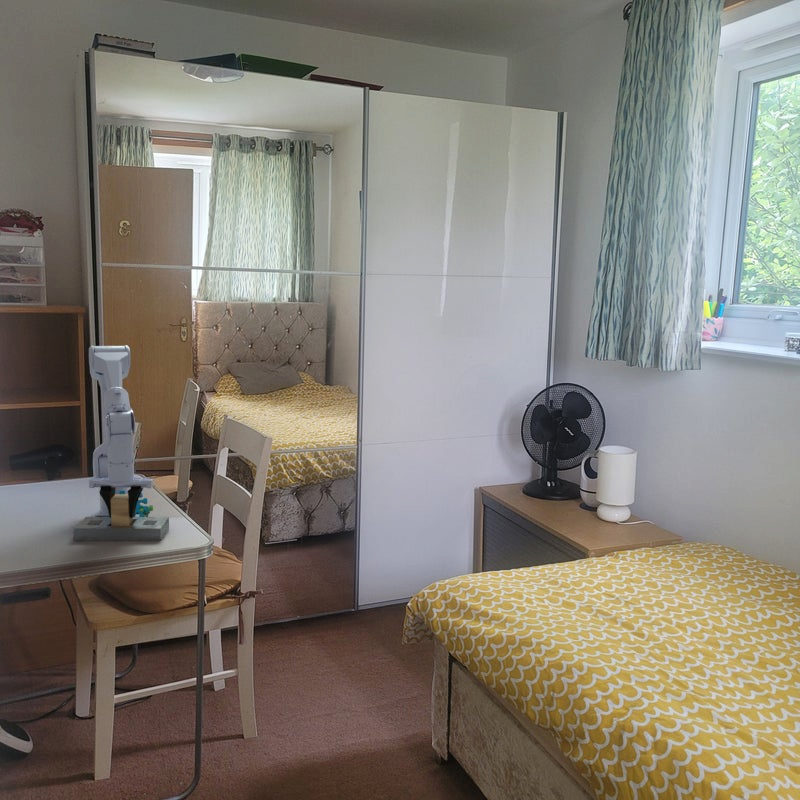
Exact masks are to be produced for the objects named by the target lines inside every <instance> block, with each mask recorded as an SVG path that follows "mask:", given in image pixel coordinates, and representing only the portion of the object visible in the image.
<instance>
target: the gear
mask: <svg viewBox="0 0 800 800" xmlns="http://www.w3.org/2000/svg"><path fill="white" fill-rule="evenodd" d="M119 493H120V494H125V491H120V492H119ZM143 495H144V494H143V493H142V492H141V494H140V496H139V499H138V502H137V505H136V510H135V516H134V517H137V516H136V515H139V516H138V517H149V515H150V514H151V512H153V511H154V506H153V505H150V504H149V506H148V498H147V497H145V498H143ZM142 498H143V499H142ZM141 503H142V504H144V505H142V504H141ZM108 515H109V512H108ZM108 517H110V515H109V516H108Z"/></svg>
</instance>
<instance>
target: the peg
mask: <svg viewBox="0 0 800 800" xmlns="http://www.w3.org/2000/svg"><path fill="white" fill-rule="evenodd" d="M132 525H133V518H130V516H129V497H128V494H115V495H114V496H113V497H112V498H111V526H132Z"/></svg>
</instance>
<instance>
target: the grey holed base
mask: <svg viewBox="0 0 800 800" xmlns="http://www.w3.org/2000/svg"><path fill="white" fill-rule="evenodd" d="M169 530H170V517H169V516H148V517H139V516H135V517H133V525H132V526H111V518H110V516H85V517H84V518H83V519H82V520H81V521H80V522H79V523H78V524H76V525H75V526H74V527H73V541H74V542H75V541H78V542H79V541H81V542H82V541H83V542H84V541H85V542H86V541H87V542H89V541H91V542H92V541H93V542H95V541H96V542H97V541H98V542H101V541H102V542H103V541H104V542H105V541H107V542H108V541H110V542H112V541H113V542H118V541H120V542H122V541H124V542H125V541H126V542H131V541H132V542H137V541H138V542H139V541H141V542H145V541H149V542H151V541H152V542H156V541H157V542H160V541H162V539H163V538H164V537H165V535H166V534H167V532H168V531H169Z"/></svg>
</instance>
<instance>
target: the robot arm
mask: <svg viewBox="0 0 800 800" xmlns="http://www.w3.org/2000/svg"><path fill="white" fill-rule="evenodd" d="M131 359H132V357H131V349H130V347H129V345H127V344H125V345H90V347H88V365H89V374H90V376H91V377H90V378H91V379H93V380H96V381H98V385H99V387H100V394H101V396H100V397H101V415H102V416H101V417H102V432H103V433H102V434H103V435H102V437H103V438H102V439H103V442H102V443H101V444H100V445H98V446H97V447H96V448H95V449H94V451H93V453H92V470H93V471H92V472H93V473H92V474H93V477H92V478H90V479H89V480H88V487H89V489H93V488H94V489H95V488H99V491H98V493H99V509H98V511H97V512H96V513H95V514H94V517H110V518H111V498H112V497H113V496H114V495H115V494H120V493H119V492H120V491H125V494H128V497H129V516H130V518H133V517H134V516H135V510H136V505H137V502H138V500H140V498H139V496H140V494H141V493H142V492H143V490H144V488H146V489H152V488H153V487H154V478H145V477H138V476H135V461H134V435H135V432H136V419H135V414H134V410H133V408H132V407H131V404H130V395H129V393H128V391H127V390H126V388H123V379H125V378H128V375H129V373H130V368H131V363H132V362H131ZM108 512H109V515H110V516H109V515H108ZM135 517H136V516H135Z"/></svg>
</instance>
